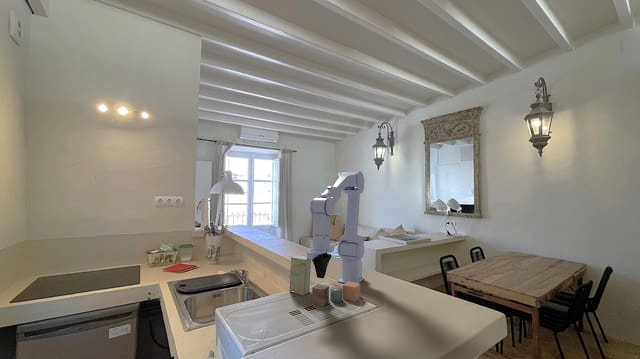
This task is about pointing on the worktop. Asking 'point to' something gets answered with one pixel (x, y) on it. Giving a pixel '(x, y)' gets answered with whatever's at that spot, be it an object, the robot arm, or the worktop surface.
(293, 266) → the skincare box
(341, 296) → the blue-grey short cylinder
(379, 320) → the worktop surface
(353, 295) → the terracotta cube
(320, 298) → the walnut block
